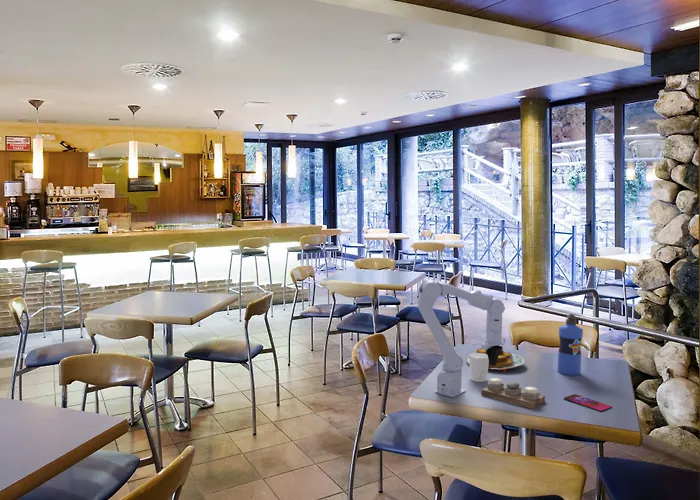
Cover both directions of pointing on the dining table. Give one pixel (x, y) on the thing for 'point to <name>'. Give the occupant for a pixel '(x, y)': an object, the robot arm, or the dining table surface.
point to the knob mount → (513, 394)
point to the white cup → (478, 366)
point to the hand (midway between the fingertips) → (492, 364)
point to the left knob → (495, 381)
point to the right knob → (531, 390)
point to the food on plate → (504, 360)
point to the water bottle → (570, 347)
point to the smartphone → (587, 402)
